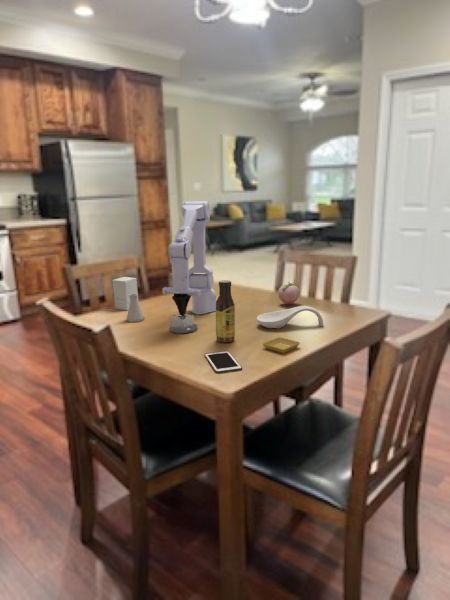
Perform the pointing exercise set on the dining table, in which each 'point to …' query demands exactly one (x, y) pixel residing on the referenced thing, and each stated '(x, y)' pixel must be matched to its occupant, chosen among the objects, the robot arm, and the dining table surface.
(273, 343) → the saucer
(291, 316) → the spoon rest
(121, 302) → the supplement box
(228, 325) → the sauce bottle
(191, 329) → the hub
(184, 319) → the collar
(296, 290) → the decorative fruit
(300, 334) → the dining table surface
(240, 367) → the cell phone
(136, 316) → the flask
